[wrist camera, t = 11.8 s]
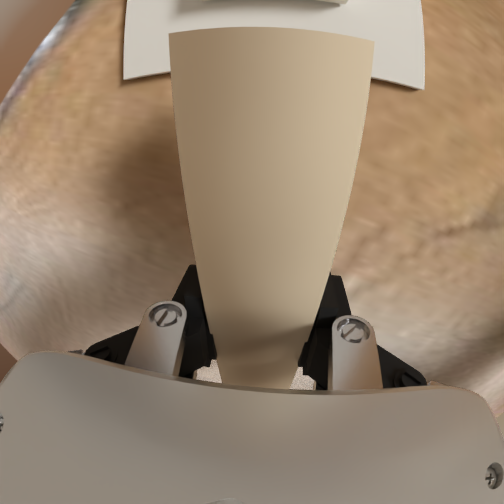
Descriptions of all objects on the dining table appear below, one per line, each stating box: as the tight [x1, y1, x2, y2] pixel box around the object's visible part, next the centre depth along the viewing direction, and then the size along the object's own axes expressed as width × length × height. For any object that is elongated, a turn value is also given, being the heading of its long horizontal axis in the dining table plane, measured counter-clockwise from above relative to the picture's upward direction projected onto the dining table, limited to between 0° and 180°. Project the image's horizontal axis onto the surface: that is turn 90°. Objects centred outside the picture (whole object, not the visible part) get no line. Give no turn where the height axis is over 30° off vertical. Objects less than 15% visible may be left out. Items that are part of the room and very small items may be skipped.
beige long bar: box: [168, 27, 375, 389], centre depth 11 cm, size 3×18×5 cm, turn 178°
